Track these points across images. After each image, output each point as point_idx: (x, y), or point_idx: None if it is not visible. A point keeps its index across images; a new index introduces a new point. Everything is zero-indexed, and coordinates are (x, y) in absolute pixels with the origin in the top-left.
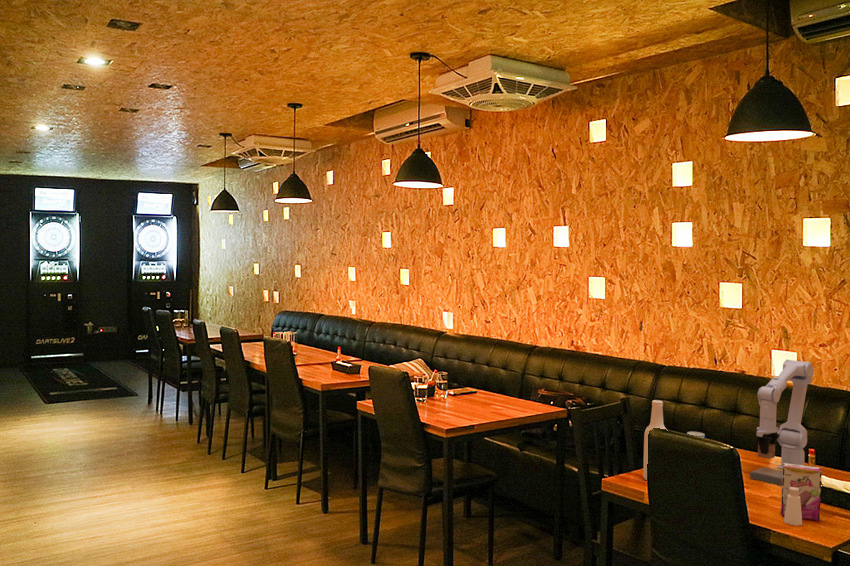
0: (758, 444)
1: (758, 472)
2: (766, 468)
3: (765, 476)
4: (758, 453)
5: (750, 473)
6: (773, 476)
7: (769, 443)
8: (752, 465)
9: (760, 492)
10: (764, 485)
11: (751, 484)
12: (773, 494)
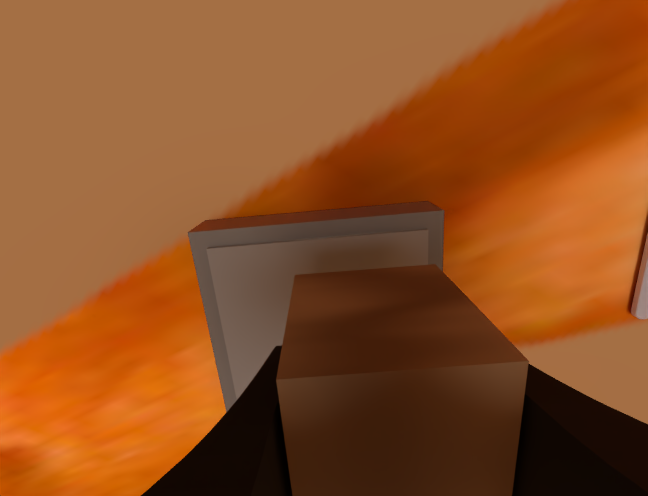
0: (277, 378)
1: (223, 285)
2: (397, 257)
3: (212, 338)
4: (293, 298)
5: (191, 235)
6: (234, 383)
7: (498, 469)
8: (608, 10)
9: (14, 398)
10: (157, 346)
11: (95, 297)
12: (57, 443)
